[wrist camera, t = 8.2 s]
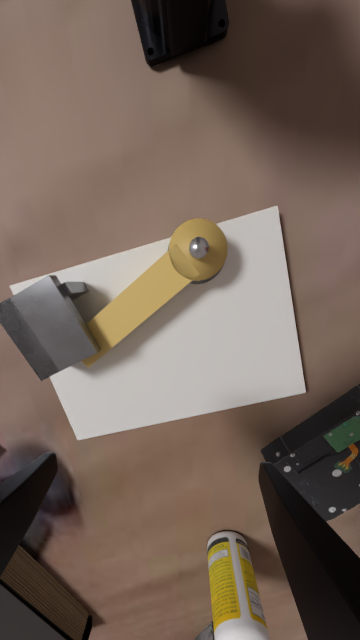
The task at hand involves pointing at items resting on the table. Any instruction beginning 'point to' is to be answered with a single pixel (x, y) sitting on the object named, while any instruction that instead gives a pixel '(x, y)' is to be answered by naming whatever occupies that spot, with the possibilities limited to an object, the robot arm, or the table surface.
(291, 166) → the table surface
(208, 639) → the mini dv tape
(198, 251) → the pintle
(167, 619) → the table surface
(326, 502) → the disk drive
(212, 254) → the link
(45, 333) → the keeper
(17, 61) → the table surface
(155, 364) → the base plate
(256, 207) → the table surface
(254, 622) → the supplement bottle
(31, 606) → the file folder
